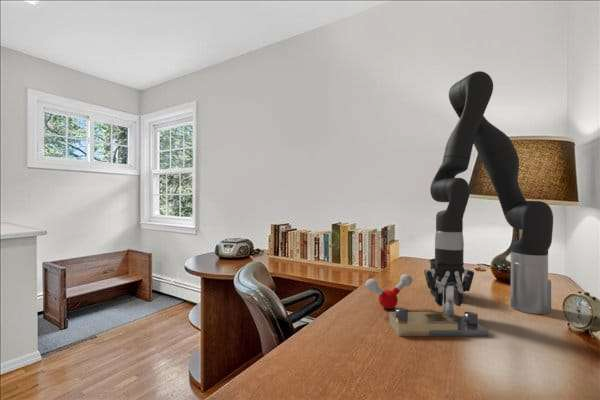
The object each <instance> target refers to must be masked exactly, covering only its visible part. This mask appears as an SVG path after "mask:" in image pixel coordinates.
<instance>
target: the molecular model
mask: <svg viewBox="0 0 600 400" xmlns="http://www.w3.org/2000/svg"><path fill="white" fill-rule="evenodd" d="M412 283H413V278H412V277H411V275H410V274H407V273H404V274H402V275H401V276H400V277H399V282H398V284H396V286H395V287H394V288H393V289H392V290H390V289H384V290H383V289H381V288H380V286H379V282H378V281H377V280H376V279H375V278H369V279H367V280H366V281H365V288H366V290H367V291H369V292H372V293H373V292H374V293H375V294H377V295H378V303H379V305H381V306H382V308H383V309H387V310H391V309H394V308H395V307H396V306H397V305H398V301H399V299H398V296H397V295H398V294H399V293H400V292H401V290H403V289H404V287H405V286H406V287H408V286H411V285H412Z"/></svg>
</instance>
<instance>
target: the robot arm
mask: <svg viewBox="0 0 600 400" xmlns="http://www.w3.org/2000/svg"><path fill="white" fill-rule="evenodd" d="M493 91H494V81H493V78H492V77H491V76H490V74H489V73H487V72H485V71H481V70H480V71H474V72H472V73H470V74H468V75H466V76H465V77H463V78H462V79H460V80H458V81H456V82H455V83H454V84H453V85H451V86H450V88H449V90H448V99H449V103H450V104H451V107H452V108H453V110H454V112H455V114H456V115H457V117H458V118H459V119H458V121H457V123H456V125H455V127H454V129H453V131H452V132H451V133H450V135H449V138H448V139H447V143H446V145H445V149H444V153H443V158H442V162H441V164H440V166H439V168H438V169H437V172H436V173H435V175H434V176H433V179H432V181H431V184H430V188H429V189H430V190H429V191H430V195H431V198H432V199H433V200H434V201H435V202H436V203H437V202H438V203H448V204H447V206H446V207H447V208H446V209H444V210H441V211H438V212H437V213H436V215H435V236H434V259H435V266H434V268H433V269H431V268H430V269H427V268H426V269H424V270H423V272H424V276H425V280H426V284H427V287H428V289H429V290H430V289H431V290H432V291H435V296H434V302H435V303H436V305H438V306H439V307H443V294H442V290H443V287H444V286H445V284H446V282H447V281H456V284H455V285H454V287H455V290H456V292H455V299H454V306H455V305H456V306H457V307H461V306H462V304H464V303H463V297H464V296H463V295H464V292H470V289H471V287H472V284H473V279H474V276H475V271H473V270H471V269H468V268H467V269H465V267H464V265H463V263H464V256H465V255H464V249H465V247H464V246H465V244H464V241H465V240H464V239H465V238H464V233H463V231H464V229H463V228H464V222H463V219H464V215H465V212H466V208H467V205H468V202H469V198H470V195H471V194H470V193H471V192H470V191H471V189H470V185H469V183H468V182H467V181H468V180H466V179H465V178H463V177H456V176H458V175H459V174H462V173H464V172H466V171H467V170H468V168H469V166H470V165H469V164H470V160H471V156H472V153H473V152H472V151H473V146H474V148H475V150H476V152H477V154H478V156H479V159H480V161H481V163H482V165H483V168H484V169H485V171H486V173H487V175H488V177H489V179H490V181H491V185H492V186H493V188H494V190H495V192H496V195H497V199H498V201H499V204H500V207H501V210H502V212H503V215H504V219H505V221H506V222H507V224H509V226H510V227H512V228H514V229H517V230H521V236H520V238H519V239H518V240H515V241H513V242H511V245H510V296H509V297H510V302H509V304H510V307H511V308H512V309H514V310H516V311H521V312H523V313H528V314H535V315H536V314H537V315H543V314H547V313H552V280H551V279H549V249H550V247H551V246H552V242H553V232H554V231H553V229H554V213H553V210H552V208H551V207H550V206H549V204H548V203H546V202H545V201H541V200H527V199H526V198H525V196H524V194H523V193H522V190H521V188H520V184H519V170H520V158H519V154H518V153H517V150H516V148H515V146H514V144H513V142H512V140H511V138H510V137H509V136H508V135H507V134H506V133H505V132H504V131H502V130H500V129H499V128H498V127H496V126H495V125H493V124H492V123H491V122H490V121H489V120H487V118H486V117H485V116H484V115H485V112H486V109H487V108H488V105H489V103H490V100H491V98H492V95H493ZM434 273H436V275H437V279H436V285H435V284H434V280H433V277H434ZM461 276H462V277H463V278H462V283H461V280H460V277H461Z"/></svg>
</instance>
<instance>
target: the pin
mask: <svg viewBox="0 0 600 400" xmlns="http://www.w3.org/2000/svg"><path fill="white" fill-rule="evenodd" d="M455 284H456V281H447V282H446V284H445V286H444V287H443V305H442V312H443V313H445V314H446V315H447V316H448V317H450V318H454V317H455V299H454V285H455Z"/></svg>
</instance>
